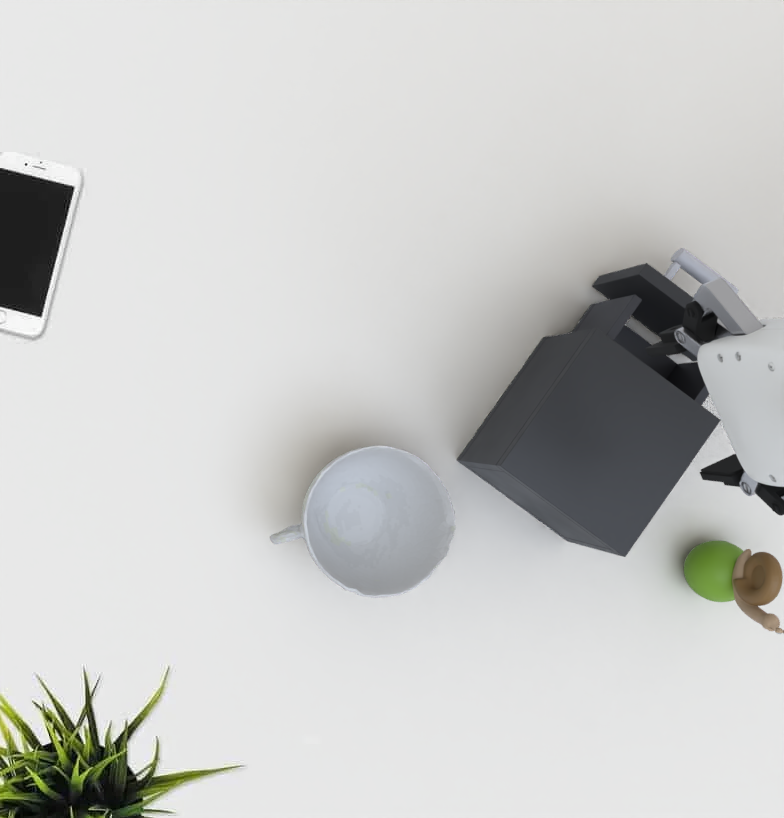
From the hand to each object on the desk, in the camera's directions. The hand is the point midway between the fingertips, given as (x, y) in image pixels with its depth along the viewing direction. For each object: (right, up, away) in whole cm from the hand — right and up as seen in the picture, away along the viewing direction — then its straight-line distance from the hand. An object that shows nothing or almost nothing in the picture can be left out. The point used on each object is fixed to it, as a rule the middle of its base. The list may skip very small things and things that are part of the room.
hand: (691, 405), depth 72 cm
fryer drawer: (+4, +5, +18) cm, 19 cm away
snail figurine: (+11, -15, +20) cm, 28 cm away
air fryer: (-2, -3, +19) cm, 19 cm away
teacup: (-22, -10, +18) cm, 30 cm away
